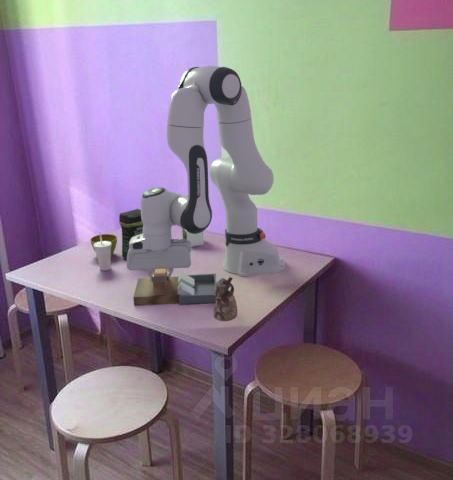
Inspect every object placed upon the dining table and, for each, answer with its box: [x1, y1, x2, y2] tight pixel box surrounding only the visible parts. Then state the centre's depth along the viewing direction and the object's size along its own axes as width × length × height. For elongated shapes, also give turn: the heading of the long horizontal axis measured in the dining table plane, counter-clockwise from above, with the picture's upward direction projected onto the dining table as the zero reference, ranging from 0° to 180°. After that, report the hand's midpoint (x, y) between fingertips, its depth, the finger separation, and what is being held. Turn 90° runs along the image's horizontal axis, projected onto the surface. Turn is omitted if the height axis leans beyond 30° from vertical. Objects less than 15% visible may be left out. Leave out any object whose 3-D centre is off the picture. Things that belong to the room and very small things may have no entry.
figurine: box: [213, 276, 238, 322], centre depth 153 cm, size 7×7×12 cm
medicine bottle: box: [181, 227, 205, 248], centre depth 211 cm, size 7×7×12 cm
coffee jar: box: [118, 208, 143, 261], centre depth 198 cm, size 10×8×19 cm
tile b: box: [177, 282, 194, 296], centre depth 165 cm, size 5×5×2 cm
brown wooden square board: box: [132, 276, 180, 307], centre depth 169 cm, size 14×14×3 cm
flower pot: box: [90, 233, 118, 257], centre depth 202 cm, size 10×10×7 cm
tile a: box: [178, 272, 195, 288], centre depth 172 cm, size 5×5×2 cm
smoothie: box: [94, 231, 112, 272], centre depth 189 cm, size 6×6×14 cm
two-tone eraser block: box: [153, 269, 168, 296], centre depth 167 cm, size 4×14×5 cm, turn 3°
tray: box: [178, 273, 217, 306], centre depth 169 cm, size 12×16×3 cm
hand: (160, 280), depth 167 cm, fingers closed on two-tone eraser block, 3 cm apart
